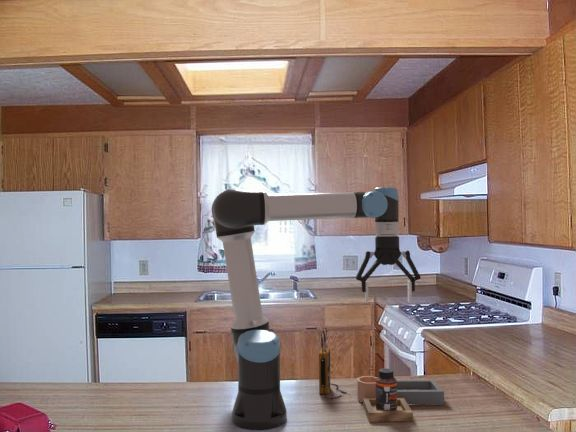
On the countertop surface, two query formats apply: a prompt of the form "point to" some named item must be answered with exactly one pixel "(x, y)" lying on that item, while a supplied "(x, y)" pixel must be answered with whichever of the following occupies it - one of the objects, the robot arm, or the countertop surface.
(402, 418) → the square wooden tray
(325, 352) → the multimeter
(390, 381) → the supplement bottle
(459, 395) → the countertop surface
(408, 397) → the tray
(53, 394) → the countertop surface
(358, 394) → the empty cup
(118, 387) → the countertop surface
